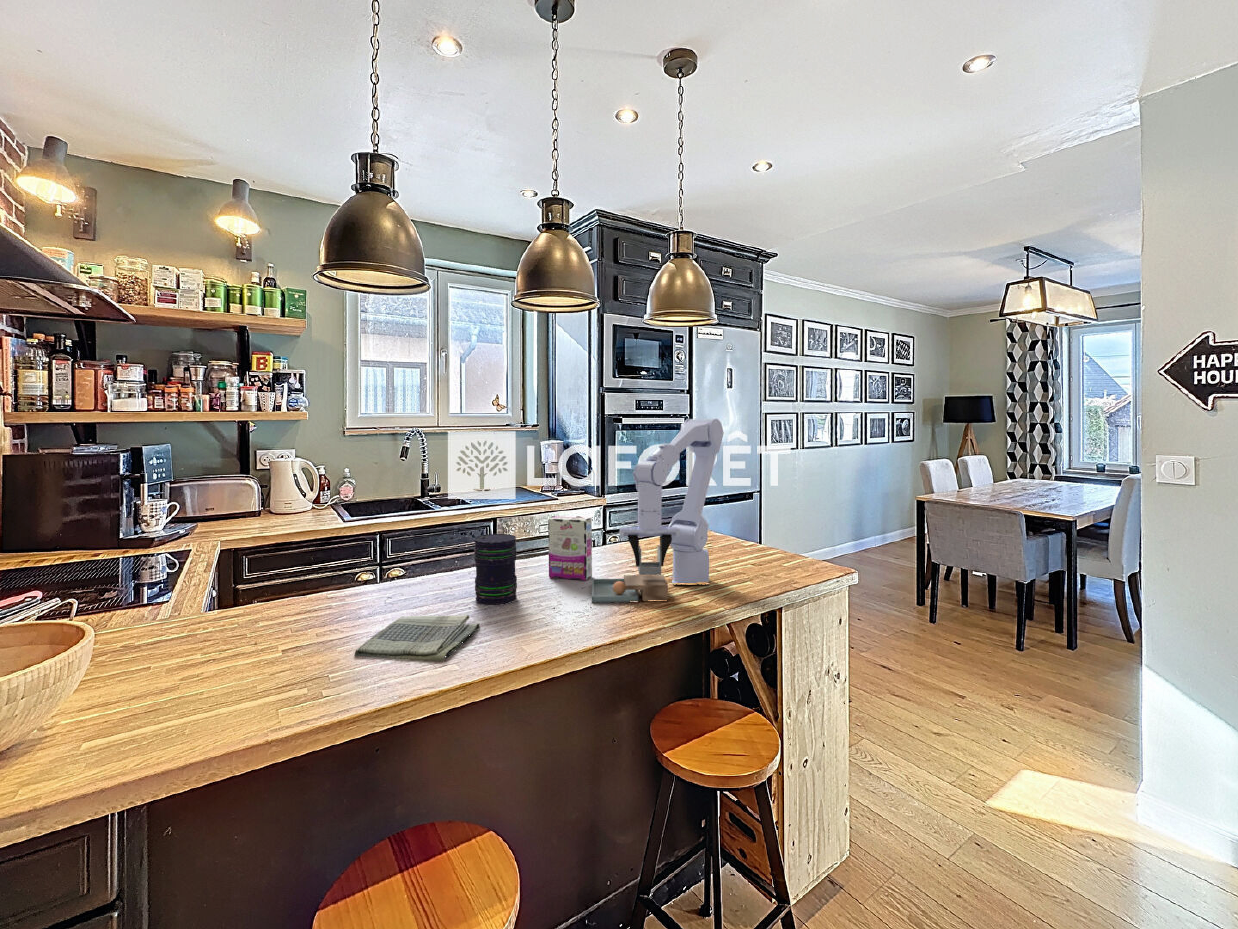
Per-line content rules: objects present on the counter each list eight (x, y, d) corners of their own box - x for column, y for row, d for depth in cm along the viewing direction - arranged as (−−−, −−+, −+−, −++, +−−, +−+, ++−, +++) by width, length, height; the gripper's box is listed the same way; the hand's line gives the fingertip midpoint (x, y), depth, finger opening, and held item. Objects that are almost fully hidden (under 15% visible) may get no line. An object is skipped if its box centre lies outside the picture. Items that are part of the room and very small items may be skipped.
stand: (663, 590, 147) (663, 575, 147) (667, 601, 138) (667, 585, 138) (623, 591, 147) (623, 575, 147) (625, 602, 138) (625, 585, 138)
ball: (615, 594, 144) (627, 589, 144) (616, 598, 141) (628, 593, 141) (610, 582, 144) (622, 577, 144) (610, 586, 140) (623, 581, 140)
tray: (634, 584, 152) (634, 578, 152) (638, 602, 137) (638, 596, 137) (592, 585, 152) (592, 579, 152) (591, 603, 137) (591, 596, 137)
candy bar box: (592, 576, 160) (592, 517, 159) (586, 581, 156) (586, 520, 154) (555, 573, 164) (554, 515, 162) (547, 577, 159) (547, 518, 158)
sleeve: (658, 569, 145) (659, 545, 144) (661, 574, 140) (661, 550, 139) (637, 569, 145) (638, 545, 144) (639, 574, 139) (639, 550, 139)
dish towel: (351, 659, 106) (350, 642, 106) (400, 625, 124) (400, 610, 124) (448, 665, 104) (447, 648, 103) (484, 629, 121) (484, 614, 121)
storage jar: (521, 593, 144) (521, 534, 143) (510, 606, 135) (509, 542, 134) (482, 592, 145) (481, 533, 144) (468, 605, 136) (467, 541, 135)
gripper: (620, 512, 137) (620, 569, 138) (682, 512, 137) (681, 569, 138) (619, 508, 144) (619, 562, 145) (677, 508, 144) (677, 562, 145)
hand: (649, 565), depth 142 cm, fingers closed on sleeve, 5 cm apart
